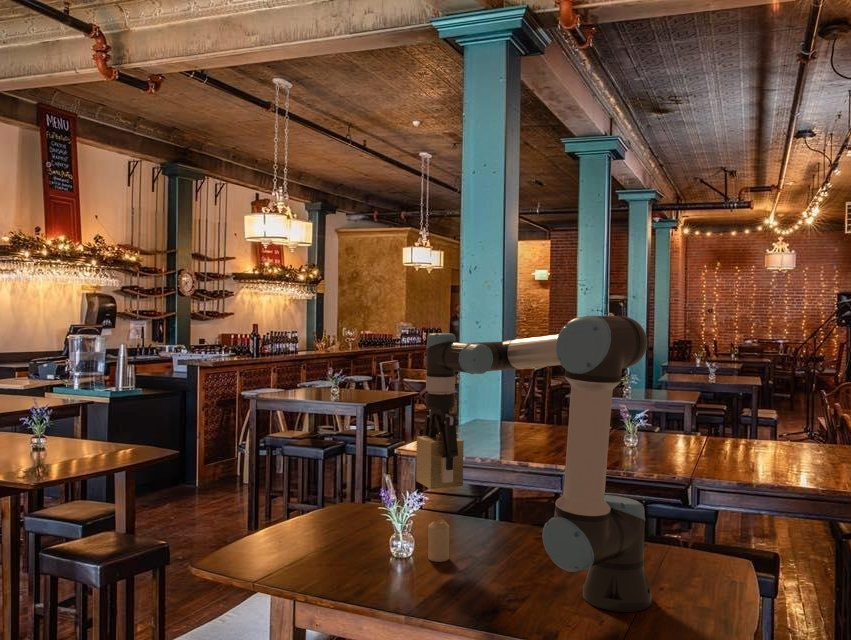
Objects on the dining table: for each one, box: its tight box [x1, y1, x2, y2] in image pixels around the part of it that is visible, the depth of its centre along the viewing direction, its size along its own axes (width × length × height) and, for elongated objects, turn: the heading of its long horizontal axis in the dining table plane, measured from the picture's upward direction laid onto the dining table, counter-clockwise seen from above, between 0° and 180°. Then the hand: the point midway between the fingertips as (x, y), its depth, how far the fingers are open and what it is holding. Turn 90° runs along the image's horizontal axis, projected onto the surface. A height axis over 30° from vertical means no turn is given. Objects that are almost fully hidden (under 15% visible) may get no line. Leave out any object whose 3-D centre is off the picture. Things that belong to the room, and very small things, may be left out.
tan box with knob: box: [415, 432, 464, 490], centre depth 194 cm, size 9×9×13 cm
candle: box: [427, 518, 450, 563], centre depth 194 cm, size 6×6×10 cm
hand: (439, 477), depth 194 cm, fingers closed on tan box with knob, 9 cm apart
